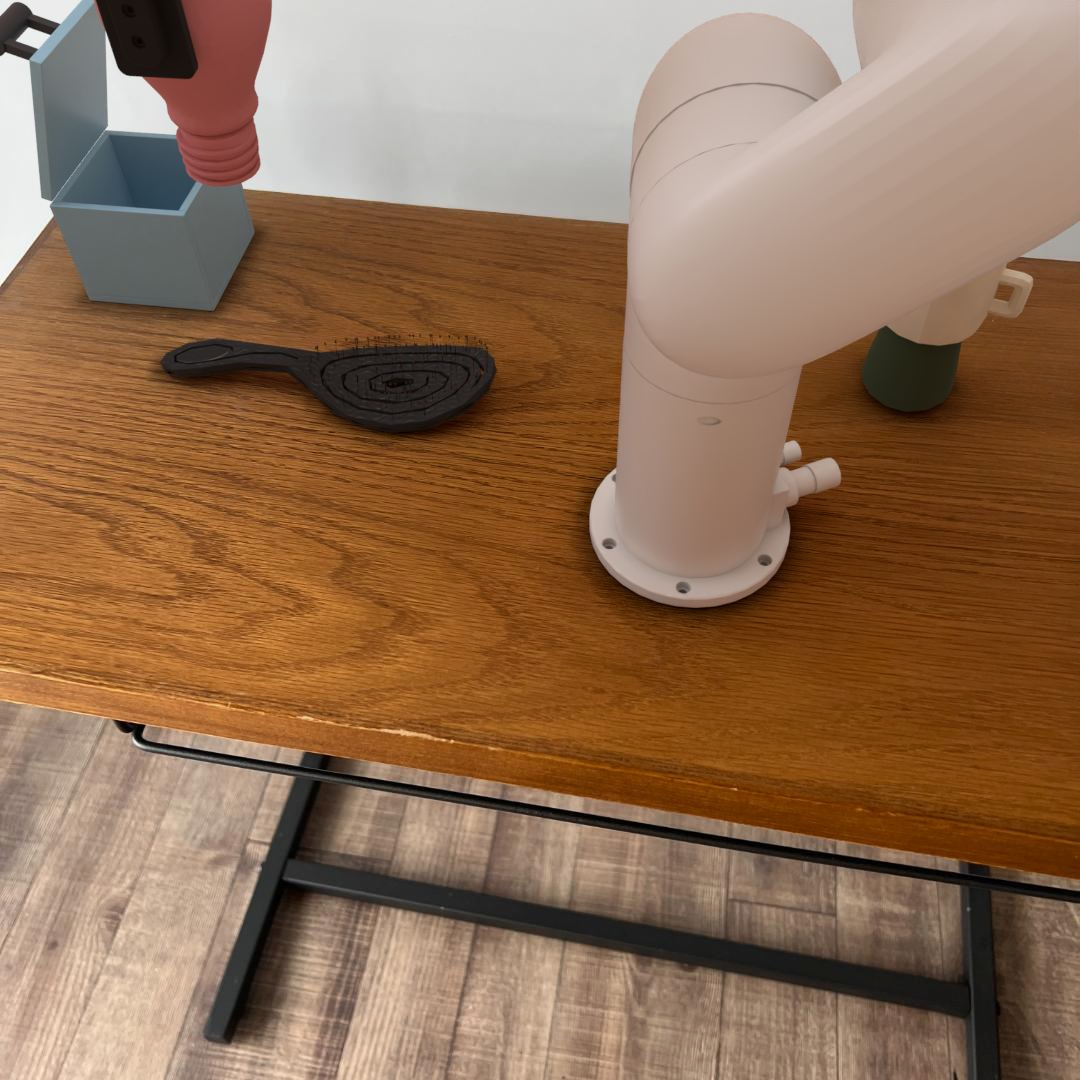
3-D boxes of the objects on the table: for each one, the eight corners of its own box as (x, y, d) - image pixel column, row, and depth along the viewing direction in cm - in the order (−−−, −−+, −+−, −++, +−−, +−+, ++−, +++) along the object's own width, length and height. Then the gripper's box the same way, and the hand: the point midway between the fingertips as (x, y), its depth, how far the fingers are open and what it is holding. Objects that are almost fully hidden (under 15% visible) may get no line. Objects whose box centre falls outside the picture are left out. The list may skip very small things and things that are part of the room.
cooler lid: (104, -10, 76) (26, -38, 75) (41, 63, 69) (-45, 33, 69) (108, 126, 84) (38, 102, 83) (52, 202, 78) (-25, 176, 77)
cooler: (255, 232, 90) (230, 138, 83) (213, 311, 84) (183, 215, 77) (138, 223, 91) (105, 129, 84) (89, 300, 85) (48, 205, 78)
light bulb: (290, 122, 55) (234, -144, 45) (321, 200, 50) (266, -76, 41) (147, 151, 53) (58, -118, 44) (166, 233, 49) (73, -45, 39)
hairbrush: (175, 300, 80) (504, 320, 76) (191, 338, 83) (509, 360, 79) (129, 376, 75) (479, 402, 71) (148, 414, 78) (485, 442, 74)
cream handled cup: (990, 376, 78) (1054, 221, 67) (972, 442, 73) (1037, 287, 63) (840, 337, 80) (880, 182, 70) (815, 398, 76) (853, 244, 66)
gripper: (34, -515, 27) (213, 143, 40) (243, -600, 37) (328, -57, 51) (-249, -516, 27) (23, 132, 41) (37, -599, 38) (175, -64, 52)
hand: (191, 24), depth 46 cm, fingers closed on light bulb, 7 cm apart
